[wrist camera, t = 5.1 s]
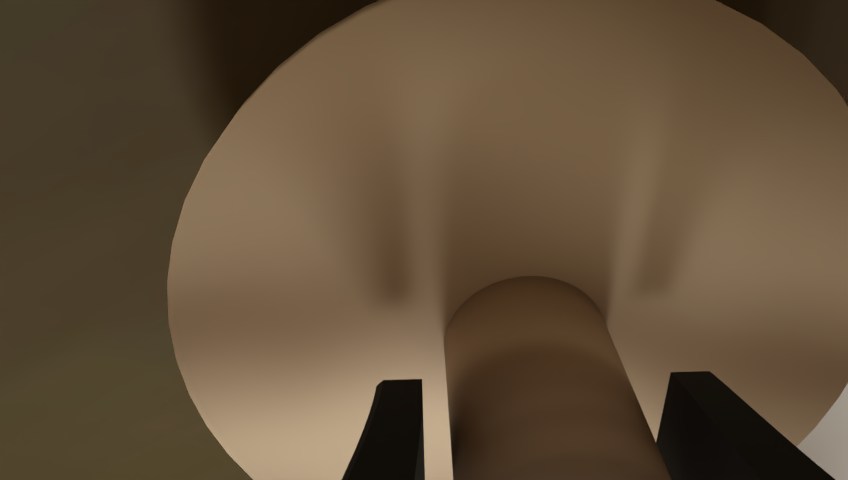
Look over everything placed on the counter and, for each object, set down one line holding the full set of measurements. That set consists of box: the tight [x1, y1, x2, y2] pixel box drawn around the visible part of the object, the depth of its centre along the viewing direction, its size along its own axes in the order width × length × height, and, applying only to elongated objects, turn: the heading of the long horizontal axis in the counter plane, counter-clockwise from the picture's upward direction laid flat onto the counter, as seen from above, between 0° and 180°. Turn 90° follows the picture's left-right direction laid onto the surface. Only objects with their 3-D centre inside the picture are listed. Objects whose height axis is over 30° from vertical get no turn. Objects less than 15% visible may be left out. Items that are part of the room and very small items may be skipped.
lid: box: [167, 0, 848, 480], centre depth 11 cm, size 13×13×5 cm
